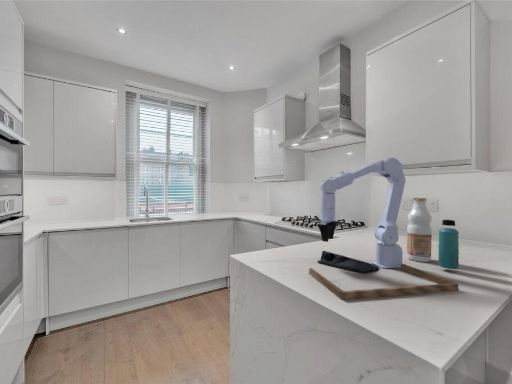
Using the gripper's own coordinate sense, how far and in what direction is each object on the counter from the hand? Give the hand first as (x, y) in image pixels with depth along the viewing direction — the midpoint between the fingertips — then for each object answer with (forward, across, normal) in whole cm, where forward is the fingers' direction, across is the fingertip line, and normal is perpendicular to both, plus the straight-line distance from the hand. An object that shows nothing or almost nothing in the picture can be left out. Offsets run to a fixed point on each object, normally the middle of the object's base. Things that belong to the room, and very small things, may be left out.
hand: (327, 239), depth 109 cm
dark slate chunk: (+10, -1, +8) cm, 13 cm away
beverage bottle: (+10, -16, +43) cm, 47 cm away
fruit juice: (+10, -29, +34) cm, 45 cm away
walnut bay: (+10, +13, +21) cm, 26 cm away
